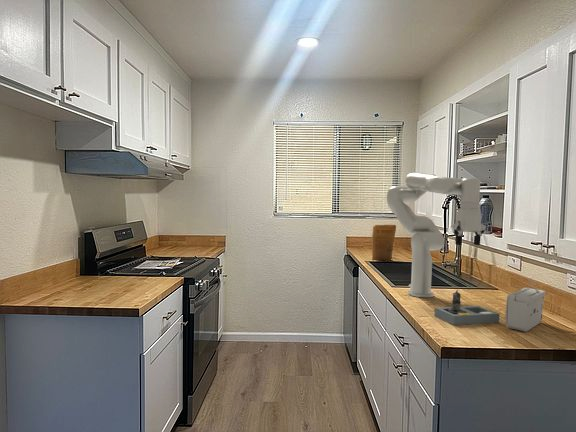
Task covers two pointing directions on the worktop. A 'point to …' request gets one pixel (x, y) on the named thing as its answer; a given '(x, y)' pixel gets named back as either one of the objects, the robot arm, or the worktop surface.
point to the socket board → (467, 315)
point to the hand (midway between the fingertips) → (467, 244)
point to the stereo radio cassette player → (524, 308)
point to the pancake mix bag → (383, 241)
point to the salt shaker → (456, 304)
